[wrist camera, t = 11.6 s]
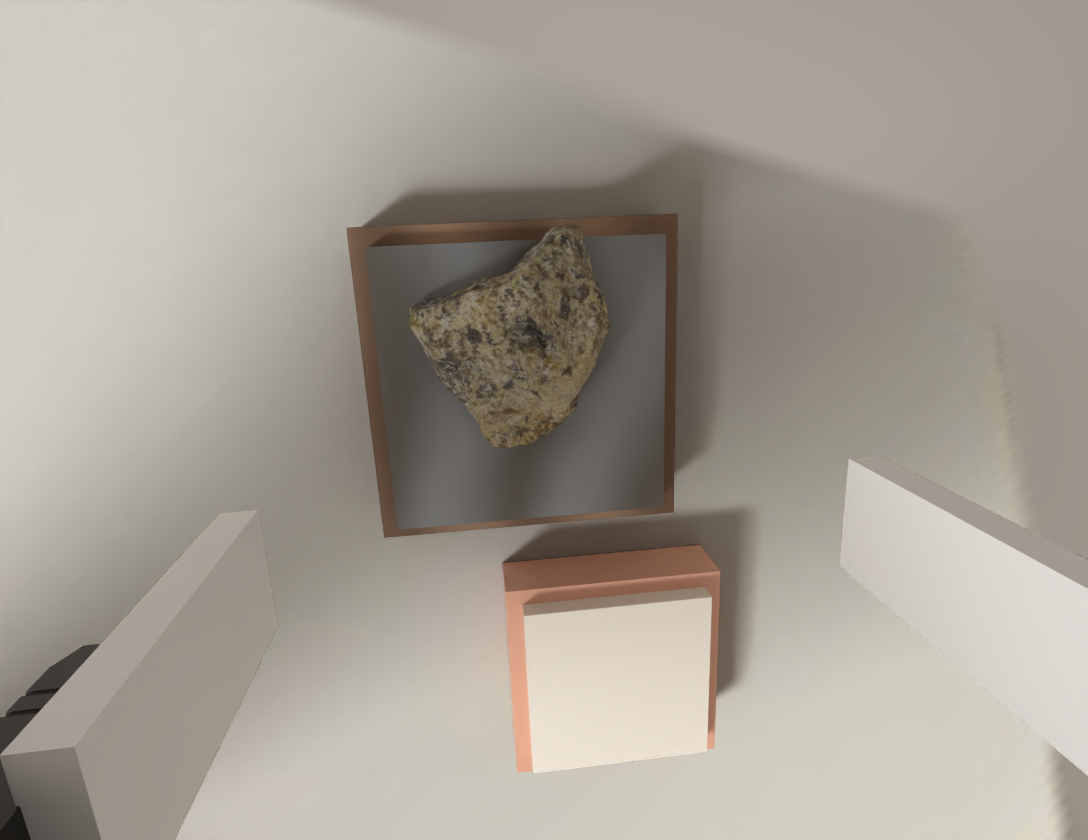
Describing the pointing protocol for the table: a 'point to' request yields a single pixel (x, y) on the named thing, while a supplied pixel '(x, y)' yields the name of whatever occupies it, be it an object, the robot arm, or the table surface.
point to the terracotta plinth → (612, 656)
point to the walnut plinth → (452, 431)
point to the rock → (519, 339)
